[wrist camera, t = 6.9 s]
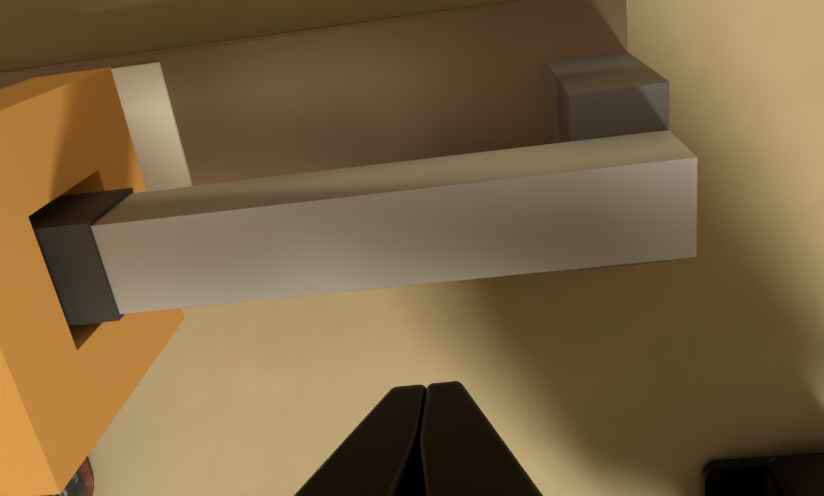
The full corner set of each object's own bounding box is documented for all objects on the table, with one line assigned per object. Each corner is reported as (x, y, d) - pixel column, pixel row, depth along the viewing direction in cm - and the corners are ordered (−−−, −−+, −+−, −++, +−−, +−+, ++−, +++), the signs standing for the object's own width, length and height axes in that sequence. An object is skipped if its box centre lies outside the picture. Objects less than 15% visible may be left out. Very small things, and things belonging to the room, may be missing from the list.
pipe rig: (624, 237, 22) (696, 369, 15) (20, 299, 24) (-146, 439, 17) (617, -14, 19) (701, 15, 12) (-64, 81, 21) (-300, 149, 14)
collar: (184, 318, 21) (60, 493, 14) (116, 325, 21) (-35, 501, 14) (110, 67, 18) (-84, 143, 11) (33, 77, 18) (-200, 158, 12)
